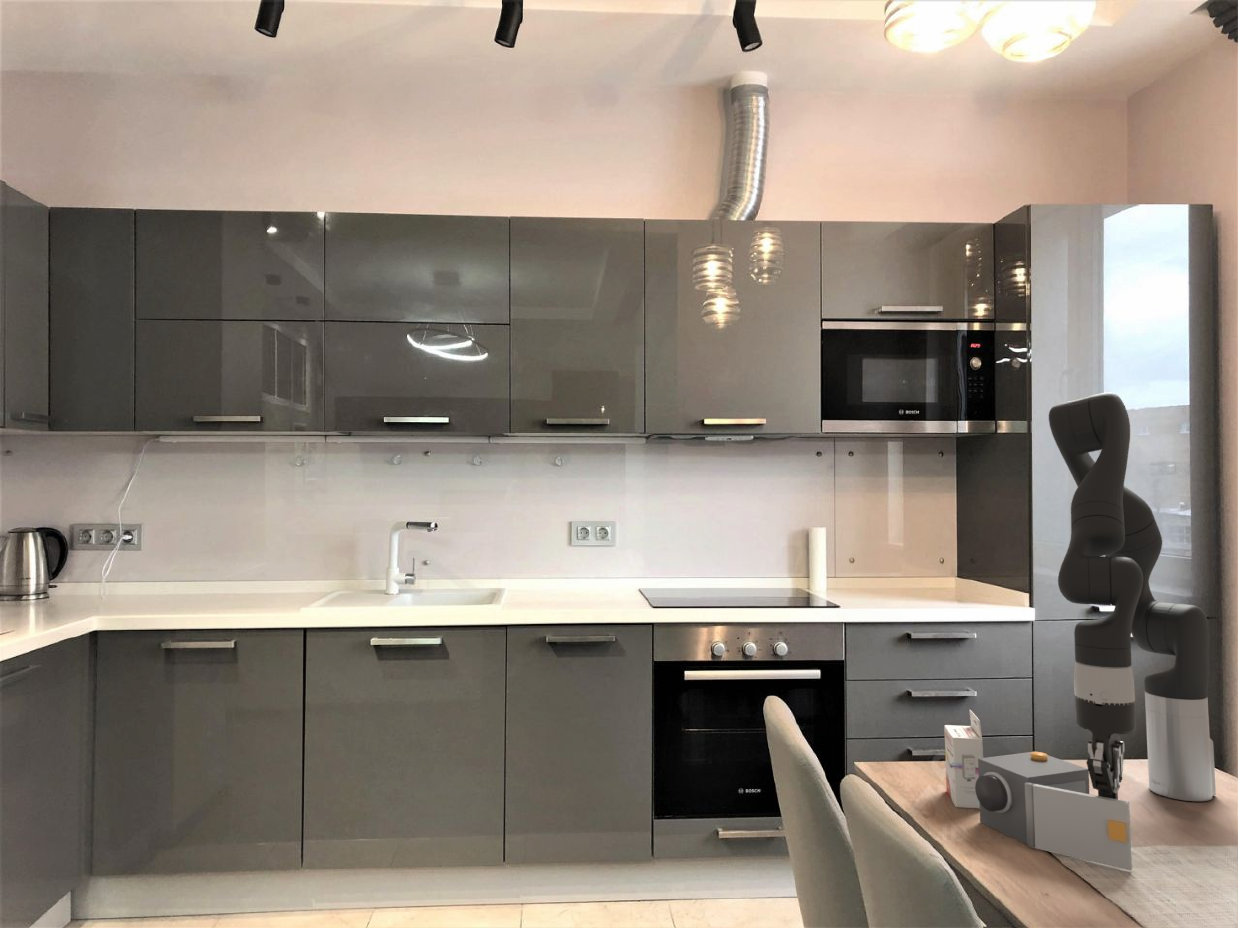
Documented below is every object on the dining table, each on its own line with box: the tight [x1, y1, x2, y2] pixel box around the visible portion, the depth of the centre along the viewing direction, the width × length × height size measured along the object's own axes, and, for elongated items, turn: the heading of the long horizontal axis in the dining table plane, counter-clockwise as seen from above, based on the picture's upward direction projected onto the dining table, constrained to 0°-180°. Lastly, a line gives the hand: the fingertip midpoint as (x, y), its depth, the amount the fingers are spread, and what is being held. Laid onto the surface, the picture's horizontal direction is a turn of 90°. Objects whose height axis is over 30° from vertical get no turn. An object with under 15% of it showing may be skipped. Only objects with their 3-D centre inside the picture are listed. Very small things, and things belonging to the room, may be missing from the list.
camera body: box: [975, 750, 1091, 846], centre depth 127 cm, size 14×10×11 cm
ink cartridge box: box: [943, 709, 984, 809], centre depth 140 cm, size 9×5×15 cm, turn 168°
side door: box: [1025, 782, 1133, 871], centre depth 115 cm, size 13×2×9 cm, turn 50°
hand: (1108, 816), depth 116 cm, fingers closed
